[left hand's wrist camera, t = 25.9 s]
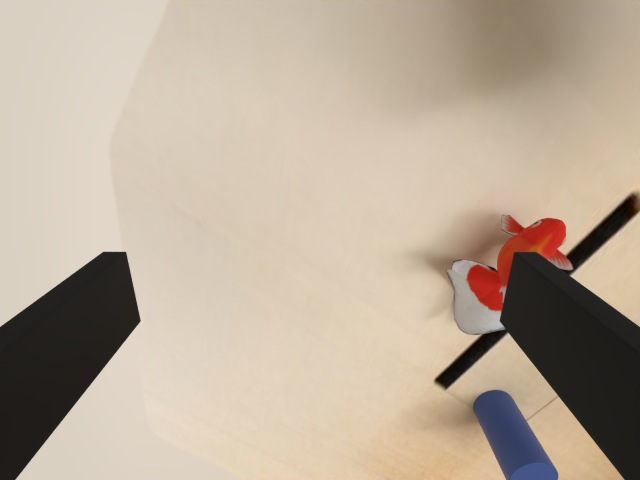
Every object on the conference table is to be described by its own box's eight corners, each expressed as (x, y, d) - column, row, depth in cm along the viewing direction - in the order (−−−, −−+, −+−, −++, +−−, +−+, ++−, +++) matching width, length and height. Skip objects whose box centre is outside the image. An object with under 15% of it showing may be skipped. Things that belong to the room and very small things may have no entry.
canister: (519, 409, 51) (565, 484, 41) (483, 425, 52) (520, 502, 42) (503, 384, 49) (547, 456, 40) (466, 400, 50) (501, 475, 41)
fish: (616, 267, 37) (625, 322, 30) (483, 320, 48) (465, 371, 40) (548, 185, 38) (540, 219, 30) (430, 255, 48) (402, 293, 41)
